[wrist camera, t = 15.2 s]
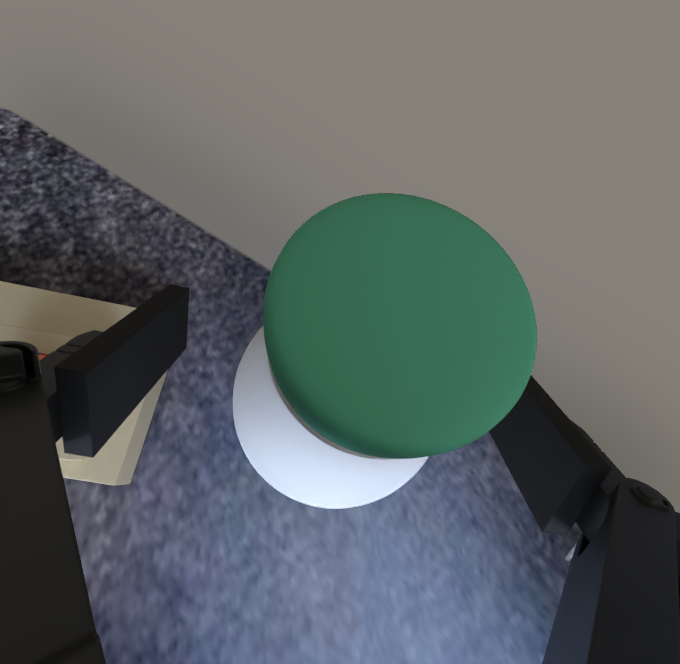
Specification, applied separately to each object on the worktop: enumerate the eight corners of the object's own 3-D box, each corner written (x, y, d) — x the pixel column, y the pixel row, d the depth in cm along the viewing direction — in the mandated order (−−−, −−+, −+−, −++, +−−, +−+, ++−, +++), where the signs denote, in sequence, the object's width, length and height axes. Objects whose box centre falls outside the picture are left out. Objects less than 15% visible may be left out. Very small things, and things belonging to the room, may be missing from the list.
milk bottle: (376, 377, 26) (604, 158, 8) (367, 497, 24) (687, 615, 5) (265, 362, 25) (214, 77, 7) (242, 484, 23) (60, 563, 4)
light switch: (-127, 442, 21) (-215, 437, 17) (-35, 284, 24) (-92, 252, 21) (130, 483, 22) (99, 487, 18) (182, 327, 26) (165, 303, 22)
